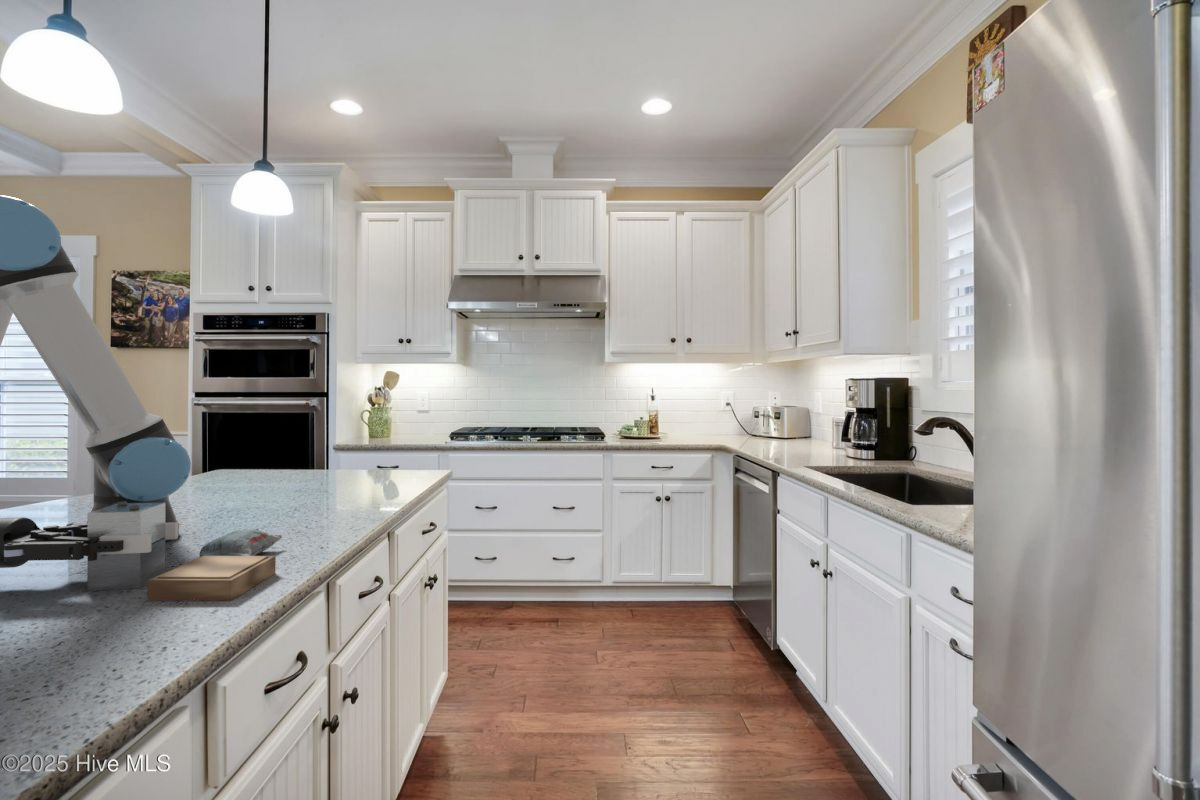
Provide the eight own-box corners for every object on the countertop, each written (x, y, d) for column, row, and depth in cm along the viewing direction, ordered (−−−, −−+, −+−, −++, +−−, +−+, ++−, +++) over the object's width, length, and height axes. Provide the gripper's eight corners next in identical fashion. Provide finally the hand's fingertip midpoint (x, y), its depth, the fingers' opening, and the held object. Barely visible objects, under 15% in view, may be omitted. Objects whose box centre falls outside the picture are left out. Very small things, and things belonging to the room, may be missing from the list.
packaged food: (281, 549, 108) (281, 524, 108) (247, 569, 96) (247, 540, 96) (235, 550, 107) (234, 525, 107) (195, 570, 95) (194, 542, 95)
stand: (202, 573, 93) (202, 554, 93) (275, 573, 93) (275, 554, 93) (147, 600, 81) (147, 578, 81) (231, 600, 81) (231, 578, 81)
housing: (116, 575, 91) (116, 500, 91) (165, 573, 93) (165, 498, 92) (87, 590, 84) (87, 509, 84) (140, 588, 86) (140, 507, 86)
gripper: (42, 548, 94) (194, 542, 99) (-71, 590, 75) (125, 580, 80) (42, 505, 94) (194, 501, 99) (-71, 535, 75) (125, 529, 80)
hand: (163, 536), depth 89 cm, fingers closed on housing, 7 cm apart
